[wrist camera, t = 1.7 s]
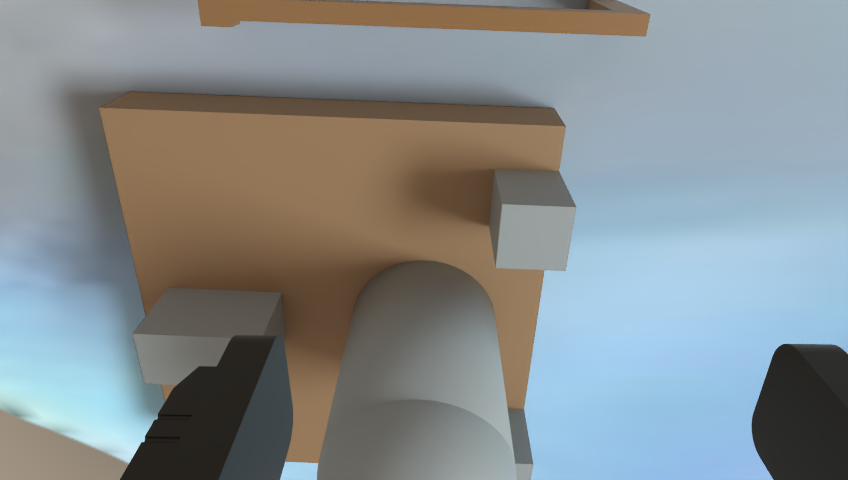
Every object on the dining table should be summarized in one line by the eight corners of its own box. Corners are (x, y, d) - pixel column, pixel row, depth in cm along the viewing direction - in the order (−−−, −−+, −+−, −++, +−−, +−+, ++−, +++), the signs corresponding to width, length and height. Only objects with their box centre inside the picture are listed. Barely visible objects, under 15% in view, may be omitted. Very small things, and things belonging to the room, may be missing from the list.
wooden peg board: (130, 91, 29) (-188, 258, 15) (554, 108, 29) (671, 294, 14) (195, 421, 40) (47, 717, 25) (509, 435, 40) (550, 741, 25)
